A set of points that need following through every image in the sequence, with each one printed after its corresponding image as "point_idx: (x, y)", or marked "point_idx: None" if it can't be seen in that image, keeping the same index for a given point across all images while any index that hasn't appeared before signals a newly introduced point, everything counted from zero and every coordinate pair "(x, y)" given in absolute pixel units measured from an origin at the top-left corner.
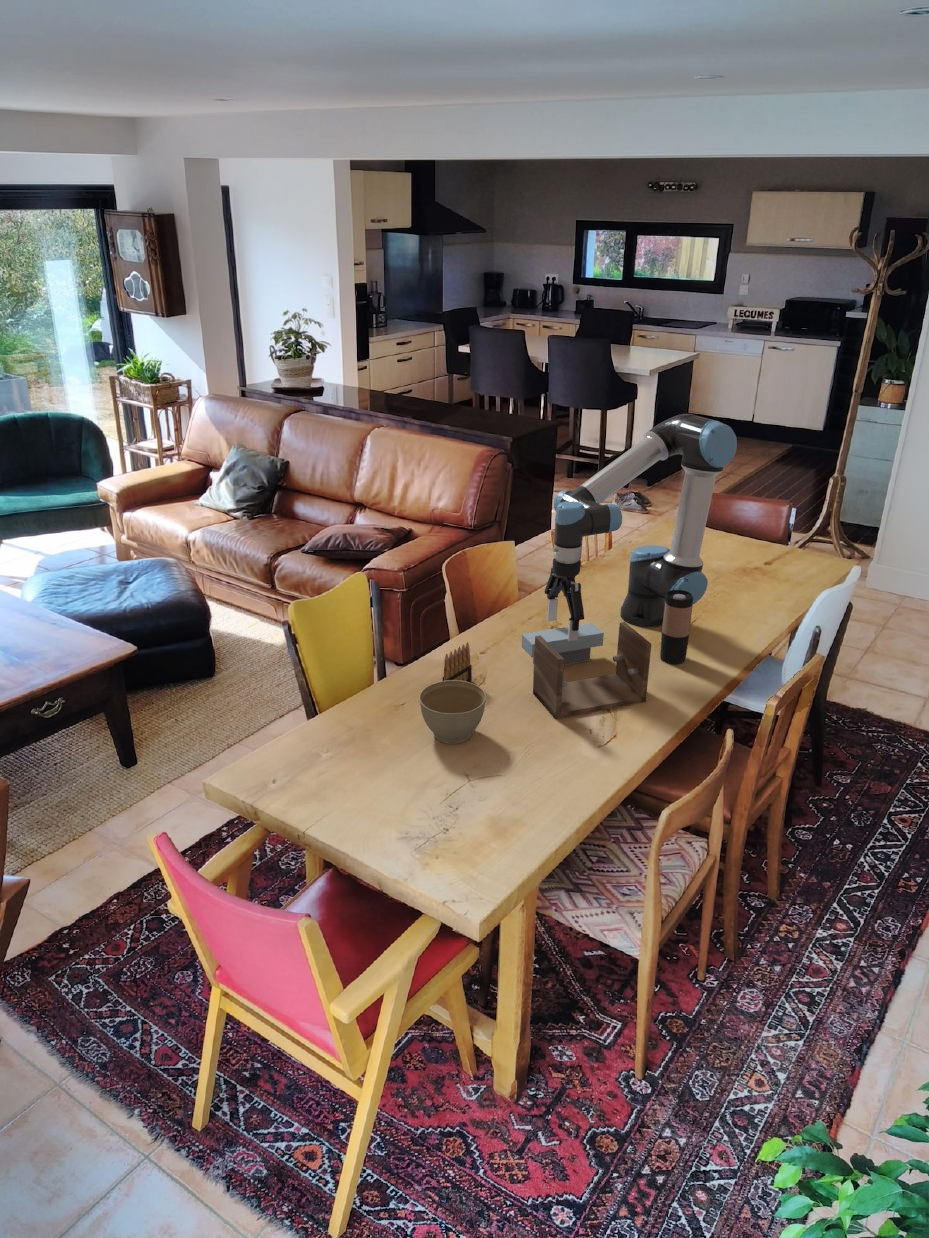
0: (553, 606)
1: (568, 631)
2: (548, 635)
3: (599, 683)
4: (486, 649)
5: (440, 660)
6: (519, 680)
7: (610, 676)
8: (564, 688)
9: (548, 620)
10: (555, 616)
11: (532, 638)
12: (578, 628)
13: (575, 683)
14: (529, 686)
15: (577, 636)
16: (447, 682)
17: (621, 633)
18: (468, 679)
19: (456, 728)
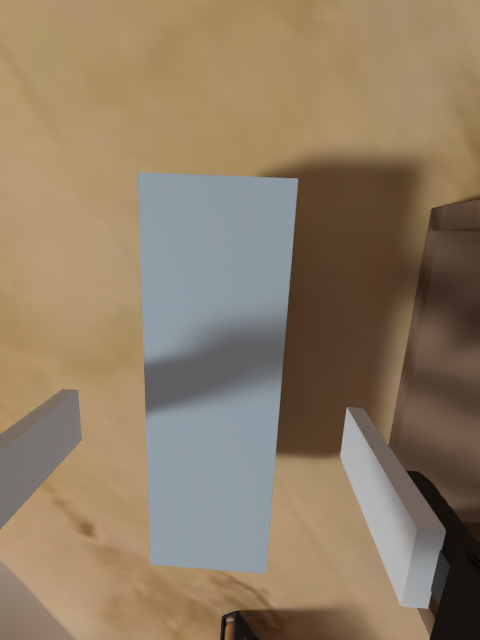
0: (9, 479)
1: (357, 498)
2: (206, 475)
3: (469, 329)
4: (67, 511)
5: (99, 628)
6: (287, 513)
7: (447, 261)
8: (433, 452)
9: (78, 440)
10: (62, 410)
11: (209, 547)
12: (435, 487)
13: (423, 405)
14: (333, 505)
15: (370, 424)
16: None
17: None
18: (244, 634)
19: None
